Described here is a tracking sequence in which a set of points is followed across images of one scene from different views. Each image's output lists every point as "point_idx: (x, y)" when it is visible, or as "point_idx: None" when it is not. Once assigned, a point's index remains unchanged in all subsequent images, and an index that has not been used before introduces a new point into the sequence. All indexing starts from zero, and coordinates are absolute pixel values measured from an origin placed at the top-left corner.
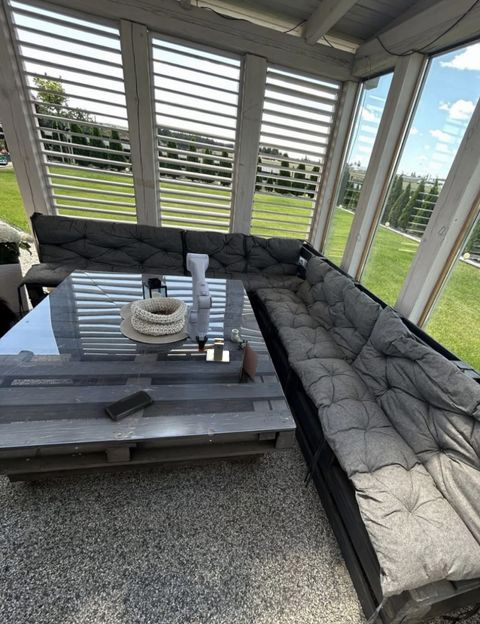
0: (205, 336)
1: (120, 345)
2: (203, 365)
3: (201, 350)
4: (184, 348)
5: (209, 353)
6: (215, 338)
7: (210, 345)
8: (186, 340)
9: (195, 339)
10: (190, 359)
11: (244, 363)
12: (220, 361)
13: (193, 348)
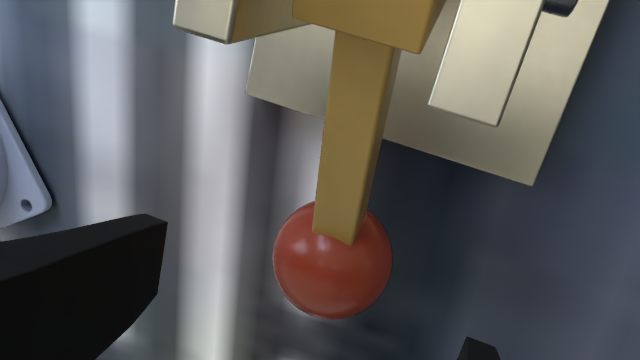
0: (90, 254)
1: None
2: (605, 237)
3: (382, 286)
4: (174, 342)
5: None
6: (192, 13)
7: (328, 133)
8: None
9: (3, 183)
10: (411, 352)
11: None
12: None
13: (178, 246)
